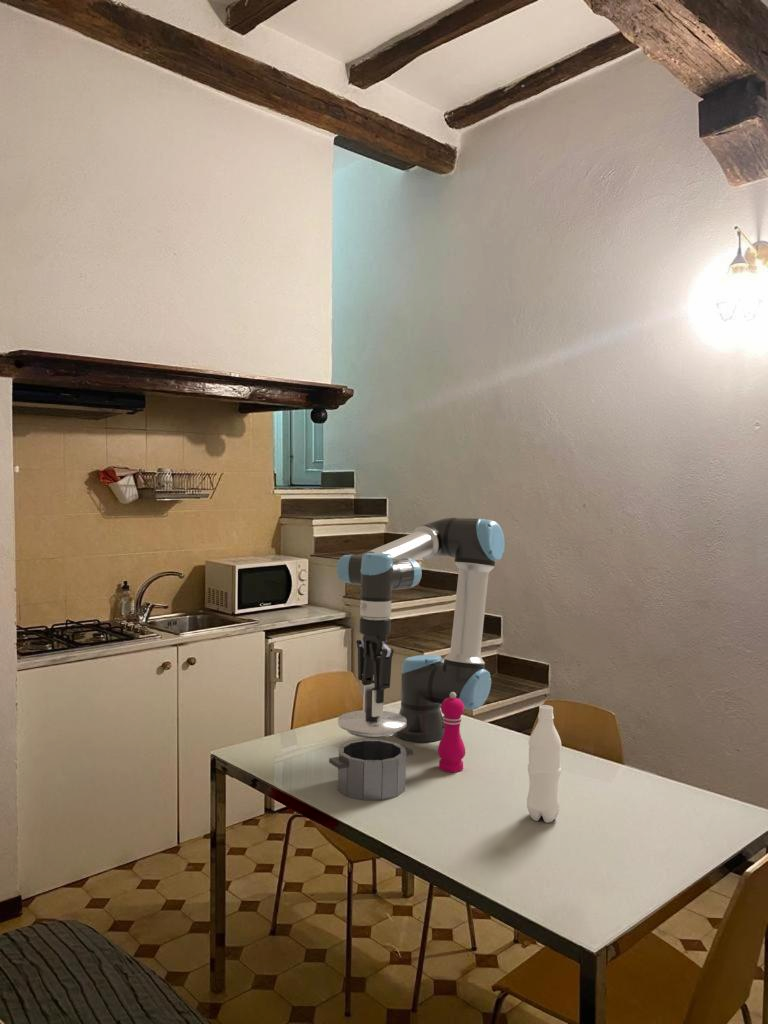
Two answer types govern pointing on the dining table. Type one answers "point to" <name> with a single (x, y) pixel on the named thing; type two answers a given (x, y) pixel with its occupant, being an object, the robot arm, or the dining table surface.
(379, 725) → the lid
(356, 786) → the pot
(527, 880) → the dining table surface
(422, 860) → the dining table surface
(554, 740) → the water bottle
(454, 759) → the pepper mill
